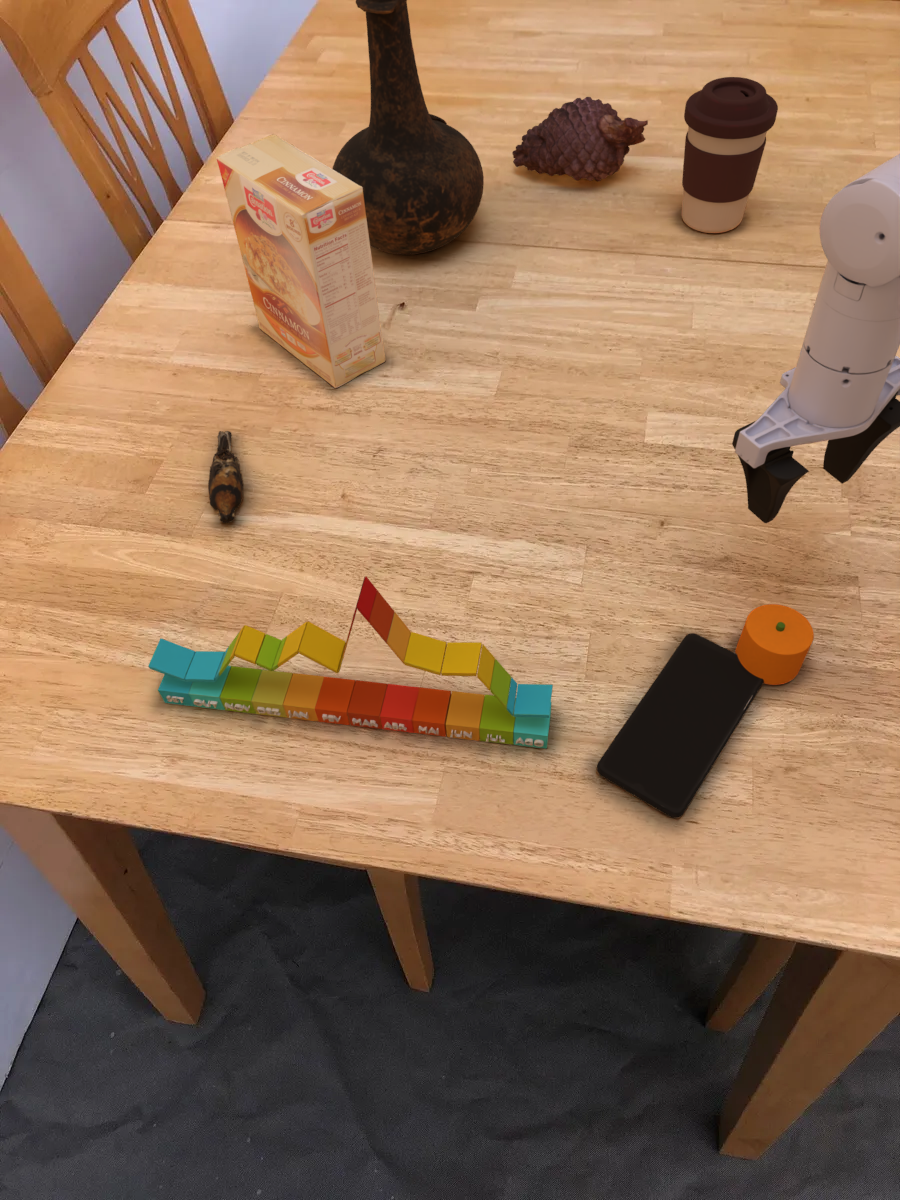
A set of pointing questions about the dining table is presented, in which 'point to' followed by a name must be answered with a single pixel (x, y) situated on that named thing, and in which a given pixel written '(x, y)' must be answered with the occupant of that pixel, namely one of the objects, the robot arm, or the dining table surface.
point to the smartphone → (680, 725)
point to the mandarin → (774, 643)
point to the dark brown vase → (407, 149)
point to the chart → (359, 682)
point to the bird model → (225, 480)
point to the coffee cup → (723, 151)
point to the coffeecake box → (305, 256)
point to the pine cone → (579, 141)
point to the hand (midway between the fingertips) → (798, 494)
